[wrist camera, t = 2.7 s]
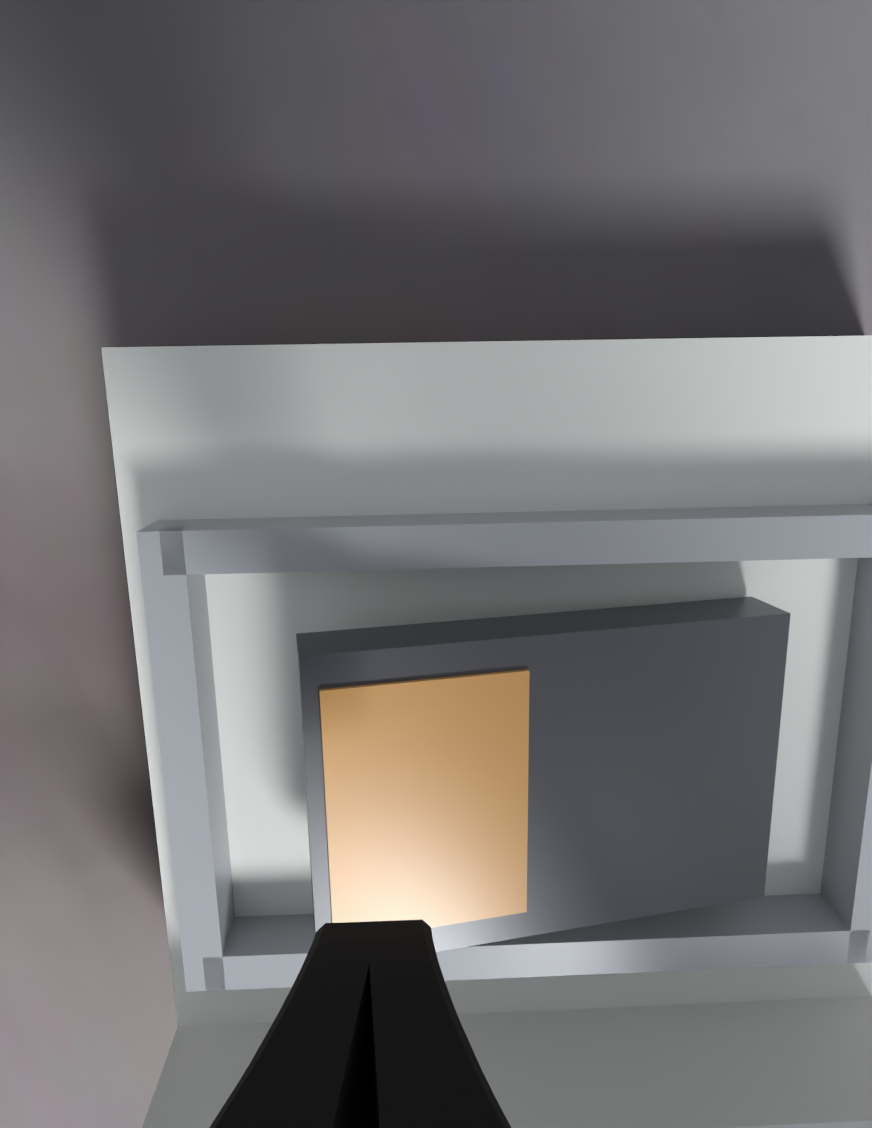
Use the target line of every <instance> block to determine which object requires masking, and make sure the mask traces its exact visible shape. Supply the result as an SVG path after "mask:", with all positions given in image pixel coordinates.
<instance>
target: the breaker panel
mask: <svg viewBox="0 0 872 1128" xmlns="http://www.w3.org/2000/svg"><path fill="white" fill-rule="evenodd" d="M101 350H102V359H103V368H104V377H105V385H106V394H107V403H108V412H109V421H110V430H111V438H112V447H113V456H114V465H115V474H116V483H117V492H118V500H119V509H120V518H121V527H122V536H123V545H124V553H125V562H126V571H127V580H128V589H129V598H130V606H131V615H132V624H133V633H134V642H135V651H136V660H137V668H138V677H139V686H140V695H141V704H142V713H143V721H144V730H145V739H146V748H147V757H148V766H149V774H150V783H151V792H152V801H153V810H154V819H155V828H156V836H157V845H158V854H159V863H160V872H161V881H162V889H163V898H164V907H165V916H166V925H167V934H168V942H169V951H170V960H171V969H172V978H173V987H174V996H175V1004H176V1013H177V1022H178V1028H177V1031H176V1034H175V1037H174V1040H173V1042H172V1045H171V1048H170V1051H169V1054H168V1056H167V1059H166V1062H165V1065H164V1068H163V1071H162V1073H161V1076H160V1079H159V1082H158V1085H157V1087H156V1090H155V1093H154V1096H153V1099H152V1101H151V1104H150V1107H149V1110H148V1113H147V1115H146V1118H145V1121H144V1124H143V1127H142V1128H209V1127H210V1126H211V1124H212V1123H213V1121H214V1120H215V1118H216V1116H217V1115H218V1113H219V1112H220V1110H221V1109H222V1107H223V1106H224V1104H225V1102H226V1101H227V1099H228V1098H229V1096H230V1095H231V1093H232V1091H233V1090H234V1088H235V1087H236V1085H237V1084H238V1082H239V1081H240V1079H241V1077H242V1076H243V1074H244V1072H245V1071H246V1069H247V1067H248V1066H249V1064H250V1062H251V1061H252V1059H253V1057H254V1055H255V1054H256V1052H257V1050H258V1048H259V1046H260V1045H261V1043H262V1041H263V1039H264V1038H265V1036H266V1034H267V1032H268V1031H269V1029H270V1027H271V1025H272V1024H273V1022H274V1020H275V1018H276V1016H277V1015H278V1013H279V1011H280V1009H281V1007H282V1005H283V1003H284V1001H285V999H286V998H287V996H288V994H289V992H290V990H291V988H292V986H293V984H294V982H295V980H296V978H297V976H298V974H299V972H300V970H301V967H302V965H303V963H304V961H305V959H306V956H307V954H308V952H309V950H310V947H311V945H312V942H313V940H314V937H315V932H314V918H313V902H312V885H311V869H310V853H309V837H308V821H307V805H306V789H305V772H304V756H303V740H302V724H301V708H300V692H299V675H298V659H297V643H296V634H297V633H309V632H322V631H334V630H346V629H359V628H371V627H383V626H395V625H408V624H420V623H432V622H444V621H457V620H469V619H481V618H494V617H506V616H518V615H530V614H543V613H555V612H567V611H579V610H592V609H604V608H616V607H629V606H641V605H653V604H665V603H678V602H690V601H702V600H714V599H727V598H739V597H751V596H752V597H754V598H756V599H758V600H761V601H763V602H765V603H768V604H770V605H772V606H775V607H777V608H779V609H782V610H784V611H786V612H789V613H791V614H790V625H789V636H788V646H787V657H786V668H785V678H784V689H783V700H782V710H781V721H780V732H779V743H778V753H777V764H776V775H775V785H774V796H773V807H772V817H771V828H770V839H769V849H768V860H767V871H766V882H765V892H764V896H761V897H756V898H750V899H744V900H738V901H732V902H726V903H720V904H715V905H709V906H703V907H697V908H691V909H685V910H679V911H673V912H668V913H662V914H656V915H650V916H644V917H638V918H632V919H626V920H621V921H615V922H609V923H603V924H597V925H591V926H585V927H580V928H574V929H568V930H562V931H556V932H550V933H544V934H538V935H533V936H527V937H521V938H515V939H509V940H503V941H497V942H492V943H486V944H480V945H474V946H468V947H462V948H456V949H450V950H445V951H439V952H436V955H437V958H438V962H439V965H440V968H441V971H442V974H443V977H444V980H445V983H446V986H447V989H448V991H449V994H450V997H451V1000H452V1002H453V1005H454V1007H455V1010H456V1012H457V1015H458V1017H459V1020H460V1022H461V1025H462V1027H463V1029H464V1031H465V1033H466V1036H467V1038H468V1040H469V1042H470V1045H471V1047H472V1049H473V1051H474V1054H475V1056H476V1058H477V1060H478V1062H479V1065H480V1067H481V1069H482V1071H483V1073H484V1075H485V1077H486V1079H487V1081H488V1083H489V1085H490V1087H491V1090H492V1092H493V1094H494V1096H495V1098H496V1099H497V1101H498V1103H499V1105H500V1107H501V1109H502V1111H503V1113H504V1115H505V1117H506V1118H507V1120H508V1122H509V1124H510V1126H511V1128H872V335H868V336H804V337H740V338H675V339H611V340H546V341H482V342H418V343H353V344H289V345H225V346H160V347H101Z"/></svg>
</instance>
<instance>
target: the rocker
mask: <svg viewBox="0 0 872 1128" xmlns="http://www.w3.org/2000/svg"><path fill="white" fill-rule="evenodd" d="M790 614H791V613H789V612H786V611H784V610H782V609H779V608H777V607H775V606H772V605H770V604H768V603H765V602H763V601H761V600H758V599H756V598H754V597H752V596H751V597H739V598H727V599H714V600H702V601H690V602H678V603H665V604H653V605H641V606H629V607H616V608H604V609H592V610H579V611H567V612H555V613H543V614H530V615H518V616H506V617H494V618H481V619H469V620H457V621H444V622H432V623H420V624H408V625H395V626H383V627H371V628H359V629H346V630H334V631H322V632H309V633H297V634H296V643H297V659H298V675H299V692H300V708H301V724H302V740H303V756H304V772H305V789H306V805H307V821H308V837H309V853H310V869H311V885H312V902H313V918H314V932H315V934H316V932H317V931H318V930H319V929H320V928H321V927H322V926H323V925H324V924H325V923H343V922H370V921H396V920H423V921H425V922H426V923H427V924H428V925H429V926H430V927H431V930H432V937H433V942H434V946H435V951H436V952H439V951H445V950H450V949H456V948H462V947H468V946H474V945H480V944H486V943H492V942H497V941H503V940H509V939H515V938H521V937H527V936H533V935H538V934H544V933H550V932H556V931H562V930H568V929H574V928H580V927H585V926H591V925H597V924H603V923H609V922H615V921H621V920H626V919H632V918H638V917H644V916H650V915H656V914H662V913H668V912H673V911H679V910H685V909H691V908H697V907H703V906H709V905H715V904H720V903H726V902H732V901H738V900H744V899H750V898H756V897H761V896H764V892H765V882H766V871H767V860H768V849H769V839H770V828H771V817H772V807H773V796H774V785H775V775H776V764H777V753H778V743H779V732H780V721H781V710H782V700H783V689H784V678H785V668H786V657H787V646H788V636H789V625H790Z"/></svg>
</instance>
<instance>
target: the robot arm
mask: <svg viewBox="0 0 872 1128" xmlns="http://www.w3.org/2000/svg"><path fill="white" fill-rule="evenodd" d="M209 1128H511V1126H510V1124H509V1122H508V1120H507V1118H506V1117H505V1115H504V1113H503V1111H502V1109H501V1107H500V1105H499V1103H498V1101H497V1099H496V1098H495V1096H494V1094H493V1092H492V1090H491V1087H490V1085H489V1083H488V1081H487V1079H486V1077H485V1075H484V1073H483V1071H482V1069H481V1067H480V1065H479V1062H478V1060H477V1058H476V1056H475V1054H474V1051H473V1049H472V1047H471V1045H470V1042H469V1040H468V1038H467V1036H466V1033H465V1031H464V1029H463V1027H462V1025H461V1022H460V1020H459V1017H458V1015H457V1012H456V1010H455V1007H454V1005H453V1002H452V1000H451V997H450V994H449V991H448V989H447V986H446V983H445V980H444V977H443V974H442V971H441V968H440V965H439V962H438V958H437V955H436V951H435V946H434V942H433V937H432V930H431V927H430V926H429V925H428V924H427V923H426V922H425V921H423V920H396V921H370V922H343V923H325V924H324V925H323V926H322V927H321V928H320V929H319V930H318V931H317V932H316V934H315V937H314V940H313V942H312V945H311V947H310V950H309V952H308V954H307V956H306V959H305V961H304V963H303V965H302V967H301V970H300V972H299V974H298V976H297V978H296V980H295V982H294V984H293V986H292V988H291V990H290V992H289V994H288V996H287V998H286V999H285V1001H284V1003H283V1005H282V1007H281V1009H280V1011H279V1013H278V1015H277V1016H276V1018H275V1020H274V1022H273V1024H272V1025H271V1027H270V1029H269V1031H268V1032H267V1034H266V1036H265V1038H264V1039H263V1041H262V1043H261V1045H260V1046H259V1048H258V1050H257V1052H256V1054H255V1055H254V1057H253V1059H252V1061H251V1062H250V1064H249V1066H248V1067H247V1069H246V1071H245V1072H244V1074H243V1076H242V1077H241V1079H240V1081H239V1082H238V1084H237V1085H236V1087H235V1088H234V1090H233V1091H232V1093H231V1095H230V1096H229V1098H228V1099H227V1101H226V1102H225V1104H224V1106H223V1107H222V1109H221V1110H220V1112H219V1113H218V1115H217V1116H216V1118H215V1120H214V1121H213V1123H212V1124H211V1126H210V1127H209Z"/></svg>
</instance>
